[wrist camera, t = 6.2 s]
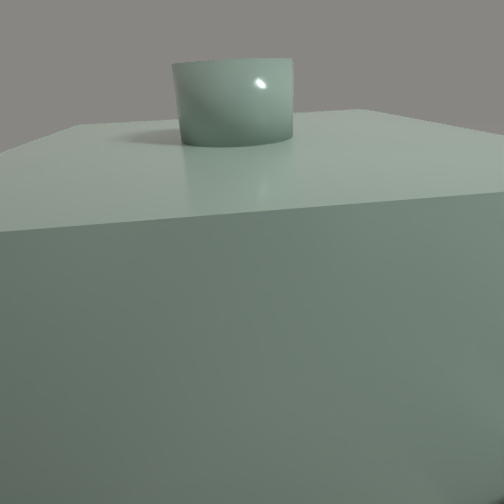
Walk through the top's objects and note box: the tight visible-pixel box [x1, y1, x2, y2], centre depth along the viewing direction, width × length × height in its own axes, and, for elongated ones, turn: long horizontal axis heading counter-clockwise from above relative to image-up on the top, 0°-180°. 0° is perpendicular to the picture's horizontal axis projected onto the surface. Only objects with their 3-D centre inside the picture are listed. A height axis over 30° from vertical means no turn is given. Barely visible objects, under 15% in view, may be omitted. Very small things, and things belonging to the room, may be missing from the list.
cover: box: [0, 58, 504, 504], centre depth 9 cm, size 8×8×13 cm
